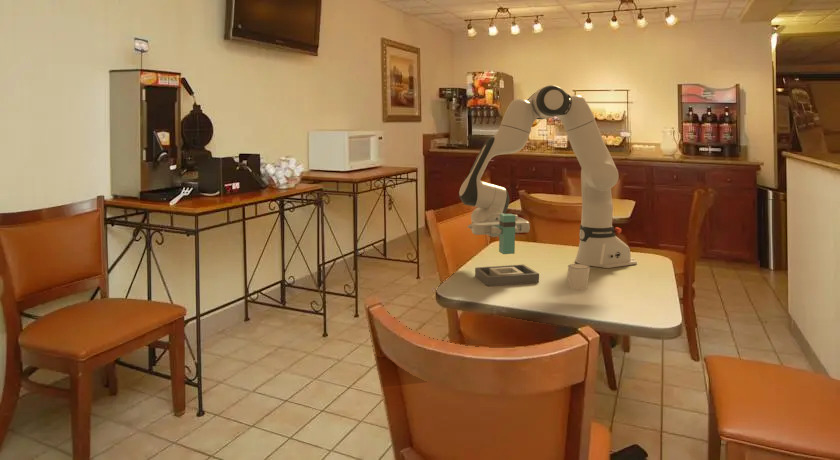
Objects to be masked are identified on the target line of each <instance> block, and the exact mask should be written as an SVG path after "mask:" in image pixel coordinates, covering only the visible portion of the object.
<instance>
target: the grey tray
mask: <svg viewBox="0 0 840 460" xmlns="http://www.w3.org/2000/svg"><path fill="white" fill-rule="evenodd" d="M474 272H475V273H474V276H475V277H476V278H477V279H479V281H480V282H482V283H483V284H484V285H485V286H487V287H495V286H496V287H497V286H510V285H511V286H512V285H522V284H537V283H540V273H539V272H537V271H535V270H534V269H532V268H530V267H529V266H527V265H525V264H513V265H512V264H511V265H496V266H495V265H494V266H482V267H481V266H480V267H479V266H478V267H475V268H474Z"/></svg>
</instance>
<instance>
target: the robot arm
mask: <svg viewBox="0 0 840 460" xmlns="http://www.w3.org/2000/svg"><path fill="white" fill-rule="evenodd" d="M554 117H557V118H558V120H560V121H561V123H562V125H563V127H564V131H565V134H566V135H567V139H568V142H569V144H570V146H571V149H572V151H573V153H574V156H575V157H576V159H577V161H578V163H579V166H580V168H581V169H580V188H581V190H580V191H581V222H580V225H579V244H578V249H577V253H576V256H575V260H574V262H576V264H584V265H588V266H590V267H595V268H596V267H597V268H603V269H611V268H618V267H624V266H632V265H637V264H638V260H636V259H635V258H633V257H632V256H631V255H632V254H631V249H630V247H629V245H628V244H627V243H626V242H624V241H623V240H622V239H620V238H619V237H618V236H616V233H617V234H621V233H622V228H620V227H617V226H616V227H615V226H613V211H614V204H613V197H612V188H614V187H615V186H616V185H617V183H618V182H619V170H618V168H617V166H616V164H615V162H614V160H613V157H612V155H611V153H610V151H609V149H608V147H607V146H606V145H607V144H606V143H605V141H604V139H603V137H602V133H601V131H600V129H599V126H598V124H597V121H596V118H595V116H594V113H593V112H592V109H591V107H590V106H589V104H588V103H587V101H586V99H585V98H584V97H583V96H582V95H578V94H576V95H570V94H568V93H567V92H566V91H565V90H564V89H563V88H561V87H560V86H557V85H554V84H553V85H552V84H551V85H546V86H544V87H540V88H538V90H536V92H534V93H533V94H532V95H531V96H529V98H528V99H524V98H516V99H513V100H512V101H511V102H509V104H508V106H507V109H506V111H505V112H504V115H503V117H502V120H501V122H500V125H499V128H498V130H497V132H496V133H495V134H494V135H493V136H490V137H488V138H487V139H486V140H485V142H484V143H483V145H482V147H481V148H480V151H479V152H478V154H477V156H476V158H475V160H474V162H473V164H472V166H471V168H470V170H469V172H468V174H467V176H466V178H465V179H464V180H463V181H462V183H461V186H460V188H459V191H458V197H459V199H460V200H461V202H462V203H463V205H464V206H469V207H476V208H475V209H474V210H472V212H471V214H470V215H471V216H470V220H471V224H468V225H467V228H468V229H471V233H472V234H474V235H475V236H482V235H484V236H485V235H486V236H487V235H488V236H490V237H491V238H499V234H502V233H503V232H502V231H503V229H501V228H500V225H499V221H500V214H507V213H506V212H507V210H508V209H509V206H510V201H511V199H510V196H509V195H510V194H509V192H508V190H507V188H505V187H504V186H501V185H500V186H499V185H498V184H497V185H496V184H493V183H489V182H486V181H483V180H481V179H482V177H483V174H484V173H485V170H486V168H487V166H488V164H489V163H490V161H491V159H492V158H494V157H495V156H501V155H510V154H515V153H518V152H520V151H522V150H523V149H524V148H525V146H526V144H527V142H528V139H529V137H530V133H531V130H532V126H533V124H534V123H535V121H536V120H548V119H551V118H554ZM513 215H516V218H515V222H516V225H515V234H519V233H529V232H530V222H529V221H528V220H527V219H524V218H522V217H519V216H518V215H517V214H513Z"/></svg>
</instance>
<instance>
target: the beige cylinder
mask: <svg viewBox="0 0 840 460" xmlns="http://www.w3.org/2000/svg"><path fill="white" fill-rule="evenodd" d="M590 269H591V266H588V265H584V264H579V263H571V264H568V265H567V273H568V276H567V277H568V287H569V288H570V289H572V290H579V291H580V290H586V289H587V288H588V283H589V277H590Z"/></svg>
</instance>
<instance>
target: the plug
mask: <svg viewBox="0 0 840 460" xmlns="http://www.w3.org/2000/svg"><path fill="white" fill-rule="evenodd" d="M516 215H517V214H514V215H513V214H512V213H505V214H500V221H499V225H500V228H501V229H503V231H502V232H503V233H502V234H499V236H498V241H499V242H498V252H499V253H501V254H502V255H513V254H514V255H515V253H516V252H515V249H516V246H515V245H516V244H515V242H516V233H515V225H516V222H515V218H516Z"/></svg>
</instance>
